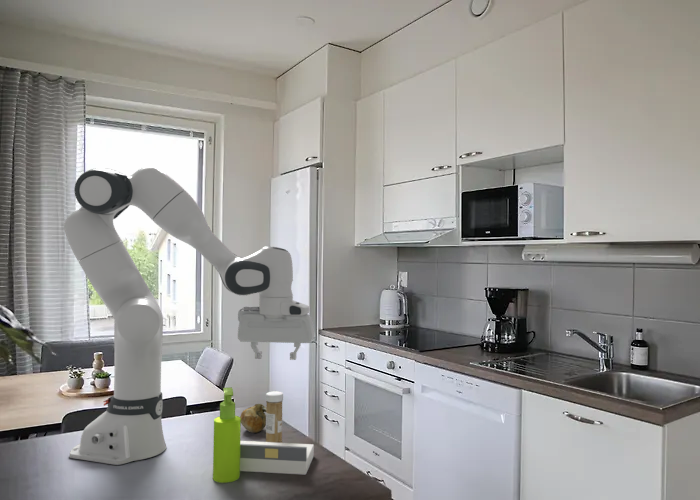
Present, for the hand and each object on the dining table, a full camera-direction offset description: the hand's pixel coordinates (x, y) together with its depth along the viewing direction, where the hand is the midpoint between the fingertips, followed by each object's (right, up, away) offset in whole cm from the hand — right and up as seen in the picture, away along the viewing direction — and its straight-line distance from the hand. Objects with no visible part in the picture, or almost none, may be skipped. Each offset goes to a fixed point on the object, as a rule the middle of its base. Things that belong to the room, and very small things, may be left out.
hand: (275, 359), depth 140 cm
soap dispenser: (-8, -22, -22) cm, 33 cm away
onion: (-8, -23, +9) cm, 26 cm away
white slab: (0, -22, -13) cm, 26 cm away
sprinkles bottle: (0, -23, 0) cm, 23 cm away
